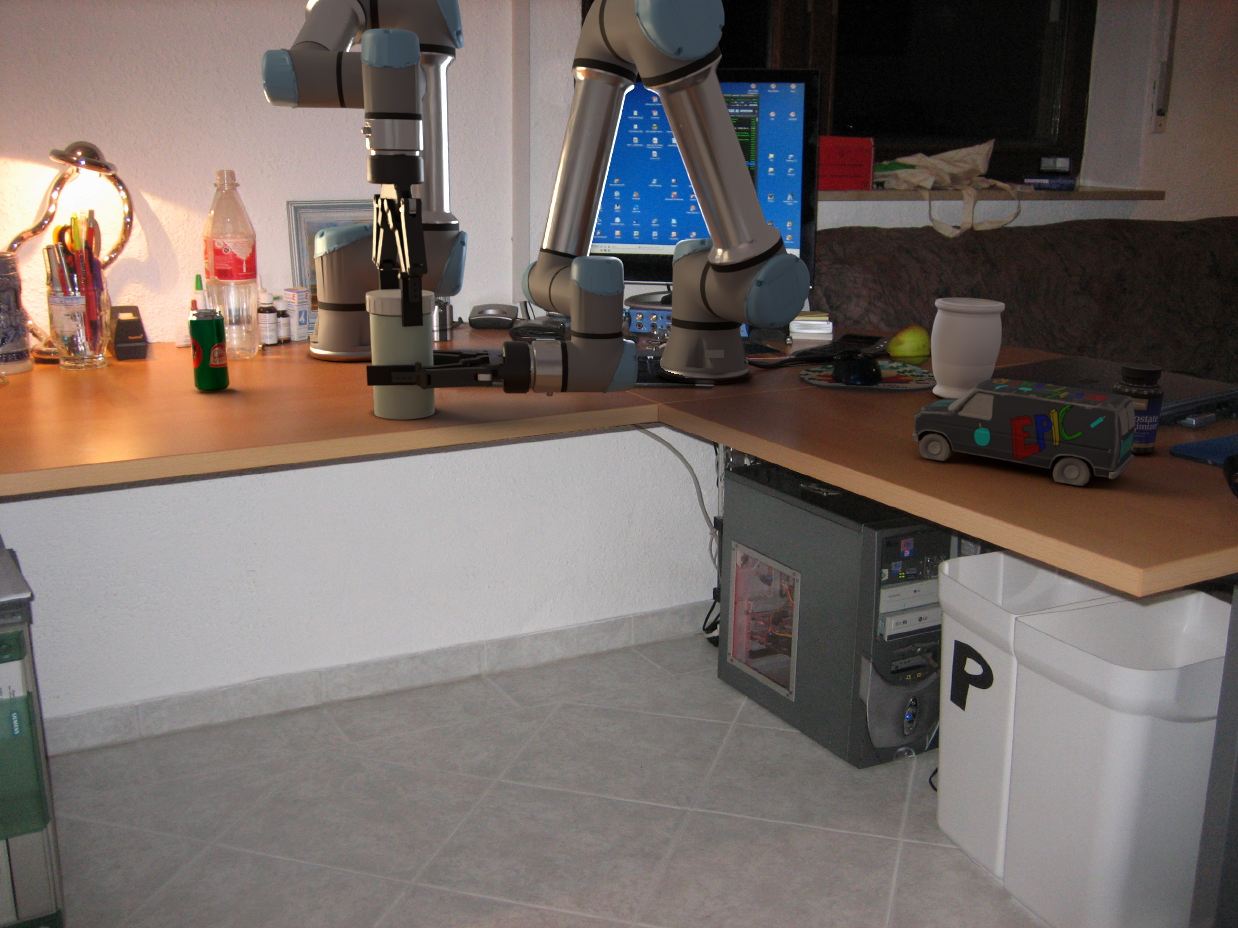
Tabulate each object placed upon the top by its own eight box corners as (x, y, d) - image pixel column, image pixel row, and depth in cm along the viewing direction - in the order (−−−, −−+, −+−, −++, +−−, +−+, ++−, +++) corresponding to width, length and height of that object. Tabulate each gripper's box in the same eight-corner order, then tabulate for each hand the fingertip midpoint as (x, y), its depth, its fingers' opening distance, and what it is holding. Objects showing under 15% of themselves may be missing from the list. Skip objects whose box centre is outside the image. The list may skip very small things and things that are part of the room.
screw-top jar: (429, 420, 149) (425, 301, 144) (368, 419, 149) (362, 300, 144) (439, 406, 157) (435, 293, 152) (381, 405, 157) (376, 292, 152)
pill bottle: (1117, 454, 138) (1130, 370, 135) (1094, 442, 144) (1106, 361, 140) (1163, 454, 138) (1177, 370, 135) (1139, 442, 144) (1152, 361, 141)
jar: (912, 390, 173) (921, 298, 169) (962, 386, 177) (972, 295, 173) (956, 405, 163) (966, 307, 159) (1008, 400, 167) (1020, 304, 163)
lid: (443, 313, 147) (442, 296, 146) (374, 316, 143) (374, 298, 142) (424, 304, 155) (424, 288, 154) (359, 307, 151) (358, 290, 150)
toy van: (935, 438, 144) (942, 365, 141) (1133, 472, 130) (1146, 392, 127) (905, 455, 135) (913, 378, 133) (1114, 493, 122) (1127, 408, 119)
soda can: (218, 393, 162) (211, 314, 158) (188, 391, 163) (180, 312, 159) (236, 386, 166) (230, 309, 163) (207, 384, 167) (200, 308, 164)
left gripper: (344, 152, 150) (352, 311, 157) (392, 154, 132) (399, 334, 138) (396, 153, 154) (402, 309, 160) (450, 155, 136) (454, 331, 142)
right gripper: (535, 409, 145) (365, 412, 141) (525, 377, 165) (375, 379, 162) (535, 355, 143) (362, 356, 139) (524, 329, 163) (373, 330, 160)
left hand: (401, 320), depth 149 cm, fingers closed on lid, 9 cm apart
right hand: (369, 369), depth 151 cm, fingers closed on screw-top jar, 8 cm apart
